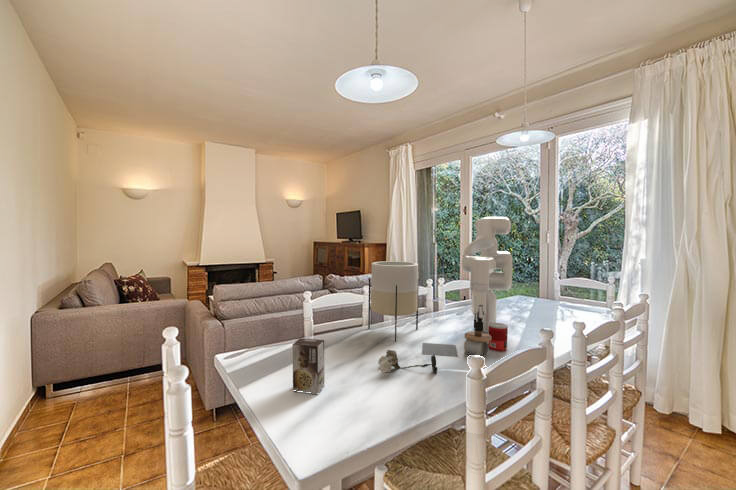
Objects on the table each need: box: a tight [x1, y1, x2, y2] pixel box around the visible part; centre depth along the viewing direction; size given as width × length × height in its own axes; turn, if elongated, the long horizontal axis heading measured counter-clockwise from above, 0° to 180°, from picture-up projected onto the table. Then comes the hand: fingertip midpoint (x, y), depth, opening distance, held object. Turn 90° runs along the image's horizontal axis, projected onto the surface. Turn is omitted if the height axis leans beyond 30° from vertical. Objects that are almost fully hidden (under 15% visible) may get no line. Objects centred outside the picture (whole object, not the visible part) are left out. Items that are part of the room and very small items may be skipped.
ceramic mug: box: [463, 338, 490, 359], centre depth 146 cm, size 11×8×8 cm
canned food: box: [488, 322, 509, 353], centre depth 155 cm, size 8×8×11 cm
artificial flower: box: [377, 349, 438, 374], centre depth 130 cm, size 9×22×10 cm, turn 78°
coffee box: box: [291, 337, 325, 394], centre depth 114 cm, size 9×6×16 cm
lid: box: [464, 330, 492, 342], centre depth 147 cm, size 11×11×6 cm
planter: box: [367, 260, 420, 343], centre depth 175 cm, size 26×27×36 cm
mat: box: [421, 342, 459, 358], centre depth 152 cm, size 15×15×1 cm
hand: (478, 329), depth 147 cm, fingers open, 3 cm apart
